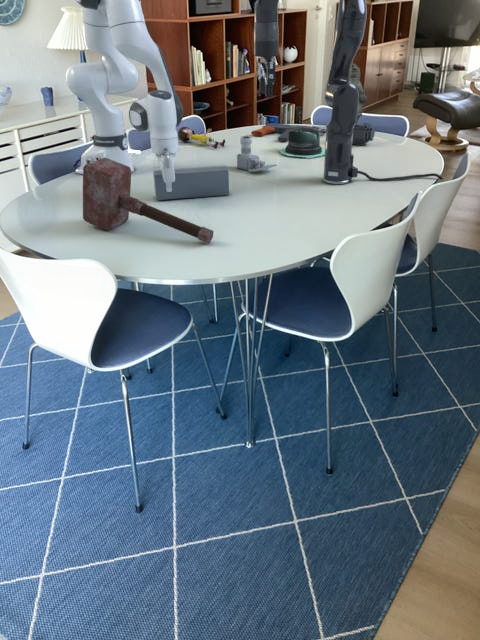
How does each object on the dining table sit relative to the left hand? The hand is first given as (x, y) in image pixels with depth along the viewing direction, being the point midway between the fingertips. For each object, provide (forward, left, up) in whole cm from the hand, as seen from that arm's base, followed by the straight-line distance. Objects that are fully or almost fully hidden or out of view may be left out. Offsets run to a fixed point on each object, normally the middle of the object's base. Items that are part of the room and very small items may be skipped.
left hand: (168, 187), depth 185 cm
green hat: (+29, +71, -3) cm, 77 cm away
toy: (+48, +92, -3) cm, 104 cm away
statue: (+43, +118, -3) cm, 126 cm away
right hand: (+29, +18, +27) cm, 43 cm away
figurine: (-19, +74, -3) cm, 77 cm away
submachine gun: (+15, +99, -3) cm, 101 cm away
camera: (+18, +39, -3) cm, 43 cm away
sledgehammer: (+9, -31, -3) cm, 32 cm away
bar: (+7, +4, -3) cm, 8 cm away
